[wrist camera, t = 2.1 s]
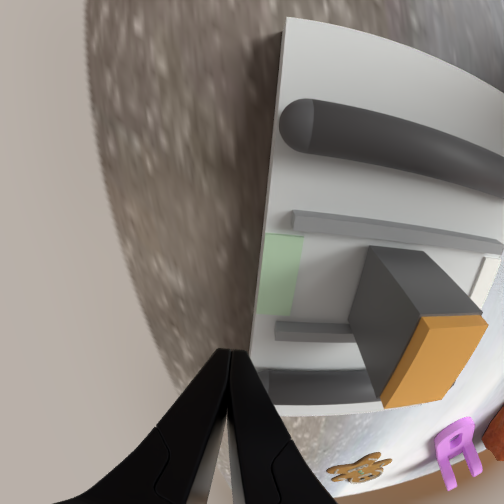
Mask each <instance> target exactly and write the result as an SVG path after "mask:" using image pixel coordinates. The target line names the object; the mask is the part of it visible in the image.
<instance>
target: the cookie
mask: <svg viewBox="0 0 504 504" xmlns="http://www.w3.org/2000/svg"><path fill="white" fill-rule="evenodd" d="M380 456H381V453H380V452H375V453H371V454H368V455H366V456H365V457H363V458H361V459H360V460H359V461H357V462H355V463H353V464H345V465H337V466H333V467H331V468H329V469H327V472H328V473H330V474H340V475H338V476H336V477H334V478H332V479H331V480H332V481H334V482H337V481H342V480H345V479H347V478H348V481H349V482H350V483H352V484H357V483H363V482H366V481H369V480H372V479H375V478H377V477H379V476H380V475H381V474H382V472H383V468H382V467H383V466H385V465H388V464H389V463H391V462H392V459H385V460H381V461H378V462H375V461H376V460H377V459H378V458H379V457H380Z"/></svg>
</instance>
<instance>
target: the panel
mask: <svg viewBox="0 0 504 504" xmlns="http://www.w3.org/2000/svg"><path fill="white" fill-rule="evenodd" d="M369 245H373V246H382V247H392V248H401V249H410V250H419V251H424V252H425V253H426V254H427V255H428V256H429V257H430V258H431V259H432V260H433V261H435V262H436V263H437V264H438V265H439V266H440V267H441V268H442V269H443V270H444V271H445V272H446V273H447V274H448V275H449V276H450V277H451V278H452V279H453V281H454V282H455V283H456V284H457V285H458V286H459V287H460V288H461V289H462V290H463V291H464V292H465V293H466V294H467V295H468V296H469V297H470V299H471V300H472V301H473V302H474V303H475V304H476V305H477V306H478V307H479V308H480V310H481V308H482V306H483V304H484V302H485V300H486V298H487V295H488V293H489V291H490V288H491V286H492V284H493V281H494V279H495V276H496V274H497V271H498V269H499V266H500V263H501V261H502V260H501V259H500V257H501V255H502V252H503V249H504V93H503V92H501V91H499V90H498V89H496V88H494V87H493V86H491V85H489V84H488V83H486V82H484V81H482V80H481V79H479V78H477V77H475V76H473V75H471V74H470V73H468V72H466V71H464V70H462V69H460V68H458V67H456V66H454V65H452V64H449V63H447V62H445V61H443V60H441V59H438V58H436V57H434V56H432V55H429V54H427V53H424V52H422V51H419V50H417V49H414V48H412V47H409V46H406V45H403V44H401V43H398V42H395V41H392V40H389V39H386V38H382V37H379V36H376V35H373V34H369V33H365V32H362V31H358V30H354V29H350V28H346V27H342V26H337V25H333V24H328V23H323V22H318V21H312V20H306V19H300V18H293V17H287V18H286V21H285V24H284V28H283V31H282V42H281V53H280V63H279V74H278V84H277V95H276V105H275V115H274V125H273V135H272V145H271V155H270V165H269V174H268V184H267V194H266V203H265V213H264V222H263V231H262V241H261V250H260V259H259V268H258V277H257V286H256V295H255V304H254V313H253V322H252V331H251V339H250V348H249V357H250V359H251V361H252V363H253V365H254V367H255V369H256V371H257V373H258V375H259V377H260V379H261V381H262V383H263V385H264V387H265V389H266V391H267V392H268V394H269V396H270V398H271V400H272V402H273V404H274V406H275V408H276V410H277V412H278V414H279V416H329V415H346V414H358V413H369V412H378V411H386V410H394V409H401V408H407V407H413V406H419V405H422V403H421V404H416V405H410V406H403V407H396V408H389V409H384V408H383V405H382V402H381V399H380V398H379V399H376V396H375V393H374V390H373V387H372V384H371V381H370V378H369V376H368V373H367V370H366V367H365V364H364V362H363V359H362V356H361V354H360V351H359V348H358V346H357V343H356V340H355V338H354V335H353V333H352V330H351V327H350V325H349V322H348V320H347V319H348V316H349V313H350V310H351V307H352V304H353V300H354V297H355V294H356V290H357V287H358V284H359V280H360V277H361V273H362V269H363V266H364V262H365V258H366V254H367V251H368V247H369ZM455 381H456V380H455ZM454 383H455V382H454ZM454 383H453V384H452V386H453V385H454ZM452 386H451V387H452ZM451 387H450V388H451Z"/></svg>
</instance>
